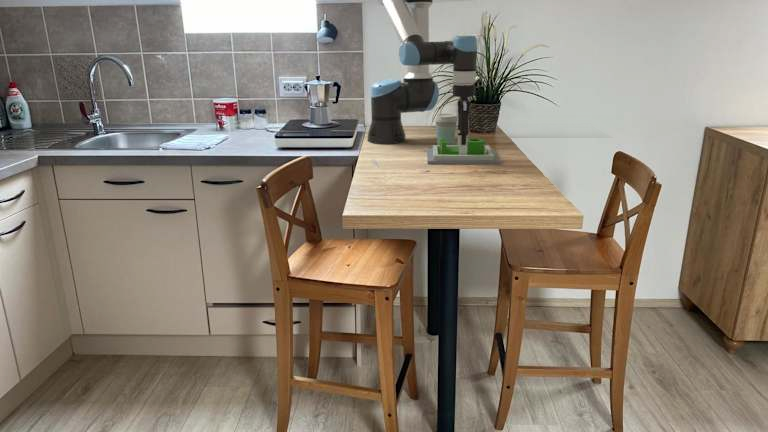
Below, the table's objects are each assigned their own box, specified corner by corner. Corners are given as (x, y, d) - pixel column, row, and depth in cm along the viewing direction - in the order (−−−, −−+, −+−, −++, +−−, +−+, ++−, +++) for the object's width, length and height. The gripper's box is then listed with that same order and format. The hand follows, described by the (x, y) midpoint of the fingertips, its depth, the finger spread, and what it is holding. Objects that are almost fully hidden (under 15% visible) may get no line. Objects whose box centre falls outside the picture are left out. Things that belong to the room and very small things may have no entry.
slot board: (427, 163, 194) (427, 156, 193) (427, 151, 213) (427, 144, 212) (500, 164, 193) (500, 156, 192) (493, 151, 211) (493, 144, 211)
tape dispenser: (482, 151, 205) (482, 138, 204) (485, 155, 199) (486, 142, 197) (439, 151, 206) (440, 138, 204) (441, 156, 199) (441, 142, 197)
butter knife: (378, 158, 201) (370, 158, 201) (392, 179, 176) (382, 179, 176) (378, 160, 202) (370, 160, 201) (392, 181, 176) (382, 181, 176)
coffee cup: (456, 145, 223) (457, 113, 219) (457, 149, 215) (458, 117, 211) (434, 144, 224) (434, 113, 220) (434, 149, 216) (434, 117, 212)
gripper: (478, 87, 185) (475, 157, 192) (473, 81, 204) (470, 145, 211) (454, 87, 186) (452, 157, 193) (451, 81, 204) (450, 145, 212)
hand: (462, 151), depth 202 cm, fingers closed on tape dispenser, 7 cm apart
